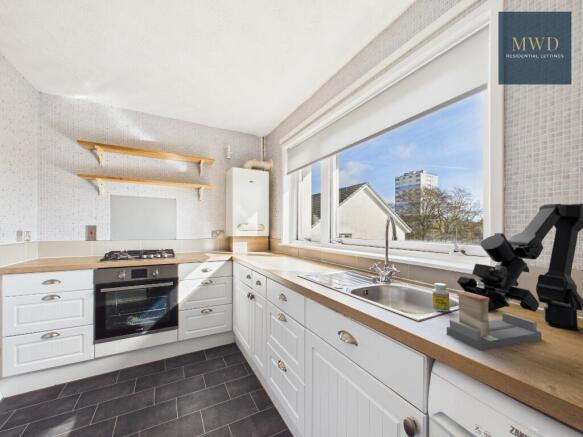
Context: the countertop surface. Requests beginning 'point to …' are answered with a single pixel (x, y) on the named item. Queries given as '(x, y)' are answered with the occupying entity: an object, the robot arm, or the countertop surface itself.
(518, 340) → the grooved grey tray
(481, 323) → the wooden rectangular block
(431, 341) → the countertop surface
